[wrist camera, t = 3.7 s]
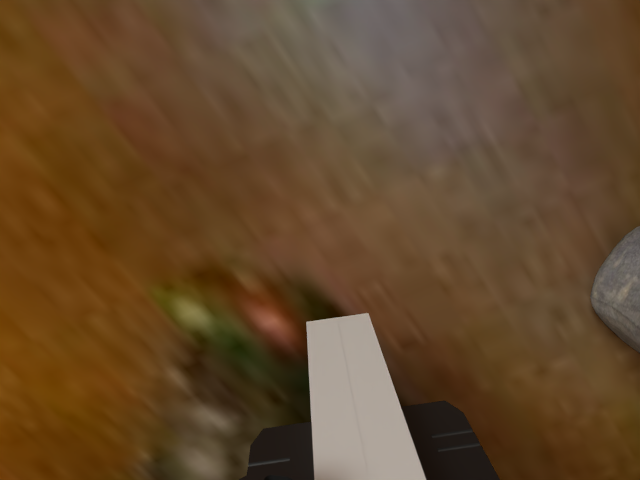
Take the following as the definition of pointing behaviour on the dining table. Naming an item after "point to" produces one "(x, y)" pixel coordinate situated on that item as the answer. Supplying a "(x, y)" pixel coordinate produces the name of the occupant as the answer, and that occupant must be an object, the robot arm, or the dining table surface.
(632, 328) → the pipe
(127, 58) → the dining table surface
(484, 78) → the dining table surface
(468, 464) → the robot arm
